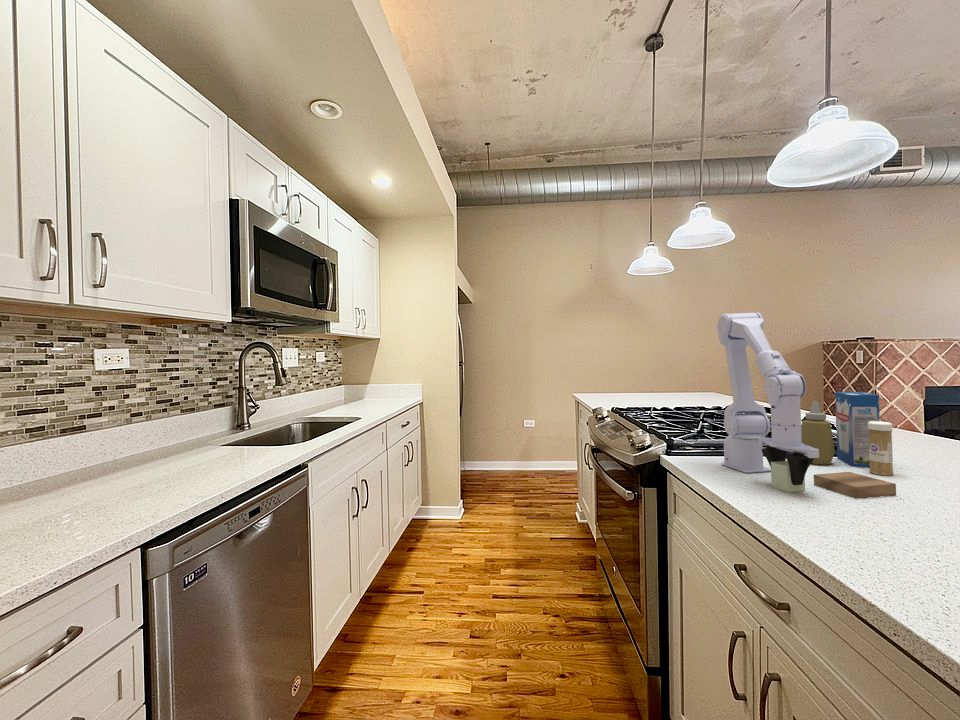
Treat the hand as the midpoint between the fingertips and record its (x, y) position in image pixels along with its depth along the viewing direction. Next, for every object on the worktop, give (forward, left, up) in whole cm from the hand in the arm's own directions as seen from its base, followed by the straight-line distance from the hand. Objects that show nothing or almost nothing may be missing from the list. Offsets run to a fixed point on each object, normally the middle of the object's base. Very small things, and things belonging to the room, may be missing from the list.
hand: (787, 481), depth 97 cm
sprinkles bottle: (-5, +32, -2) cm, 32 cm away
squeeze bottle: (-18, +27, -2) cm, 33 cm away
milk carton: (-15, +37, -2) cm, 40 cm away
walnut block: (+4, +13, -2) cm, 14 cm away
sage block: (0, 0, -2) cm, 2 cm away
